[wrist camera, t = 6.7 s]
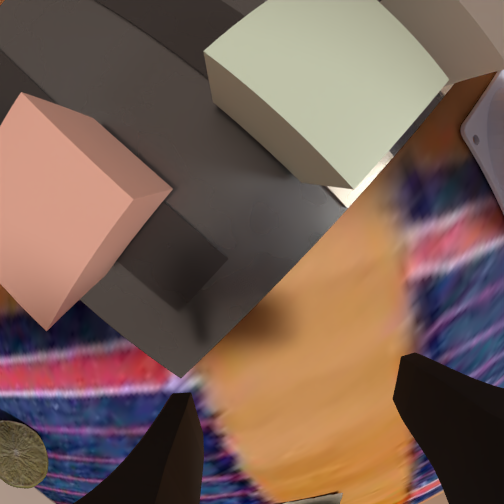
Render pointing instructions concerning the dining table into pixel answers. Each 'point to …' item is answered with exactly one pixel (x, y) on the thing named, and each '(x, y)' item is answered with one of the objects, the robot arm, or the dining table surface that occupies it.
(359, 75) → the sage slider
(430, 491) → the dining table surface
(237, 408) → the dining table surface
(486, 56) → the grey slider
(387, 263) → the dining table surface
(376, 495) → the dining table surface
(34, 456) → the lime
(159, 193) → the coral slider
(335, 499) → the condiment
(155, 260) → the slider track board
